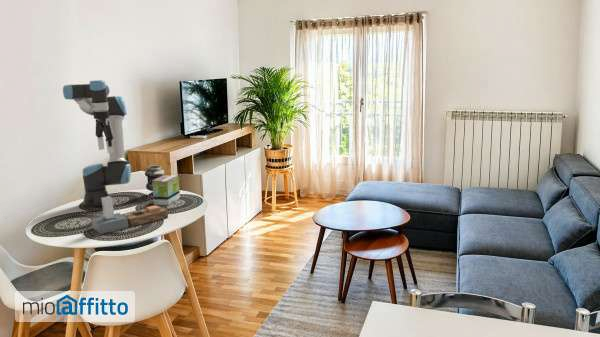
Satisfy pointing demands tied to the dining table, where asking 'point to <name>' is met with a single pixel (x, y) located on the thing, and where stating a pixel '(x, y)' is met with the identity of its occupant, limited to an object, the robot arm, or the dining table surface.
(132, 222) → the socket block
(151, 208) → the plunger
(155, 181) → the tea box
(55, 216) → the dining table surface
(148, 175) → the apothecary jar
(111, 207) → the steel peg
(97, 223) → the block
